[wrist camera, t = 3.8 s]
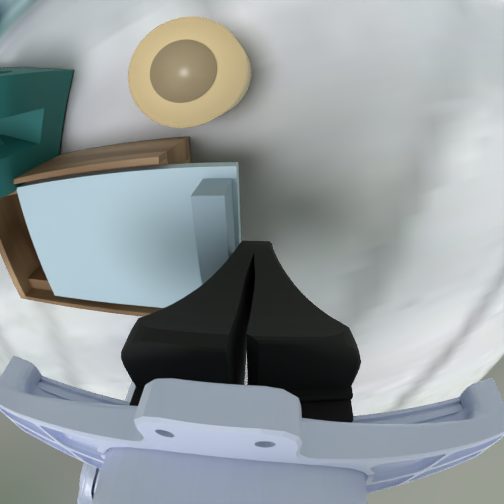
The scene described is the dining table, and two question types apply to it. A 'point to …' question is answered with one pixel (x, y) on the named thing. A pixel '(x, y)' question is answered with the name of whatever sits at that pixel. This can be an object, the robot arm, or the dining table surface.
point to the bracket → (30, 119)
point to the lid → (134, 230)
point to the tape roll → (188, 72)
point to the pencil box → (90, 160)
